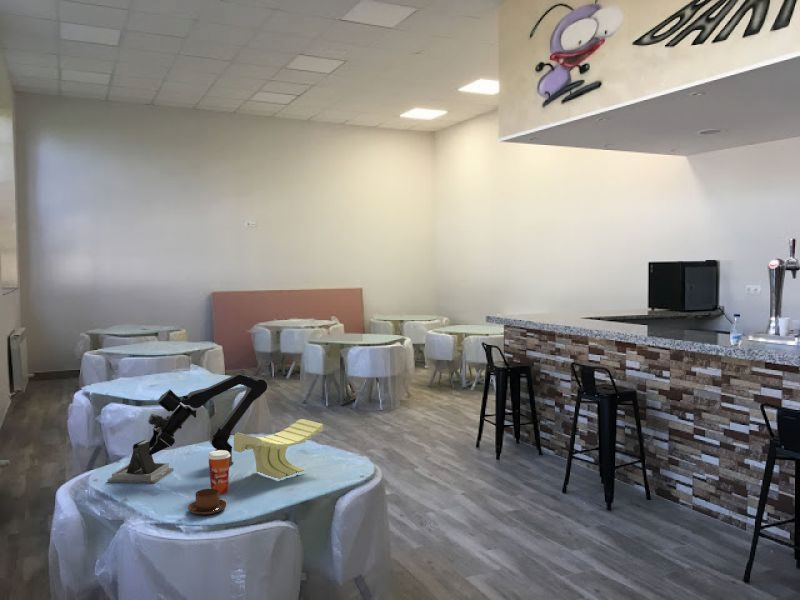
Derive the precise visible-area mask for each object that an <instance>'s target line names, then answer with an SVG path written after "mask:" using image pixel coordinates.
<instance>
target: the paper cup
mask: <svg viewBox="0 0 800 600" xmlns="http://www.w3.org/2000/svg"><path fill="white" fill-rule="evenodd" d="M230 456H231V455H230V453H229V452H228V451H225V450H217V451H215V450H212V451H210V452H209V453H208V455H207V459H208V467H209V468H208V469H209V480H210V489H217V490H218V491H219V495H224V493H225V494H226V493H228V491H229V478H230V477H229V472H230V467H229V457H230Z"/></svg>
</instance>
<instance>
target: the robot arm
mask: <svg viewBox="0 0 800 600" xmlns="http://www.w3.org/2000/svg"><path fill="white" fill-rule="evenodd" d="M239 385H240V386H244V387H246V390H245V392H244V395H243V396H242V398H241V399H240V400H239V402H238V403H237V404H236V406H235V407H234V408H233V409H232V411H231V412H230V414H229V415H228V417H227V418H226V419H225V420H224V422H223V423H222V424H221V425H219V426H218V425H217V424H215V426H214V427H213V429H212V430H211V431H210V432H209V436H208V442H209V443H210V445H211V446H212V447H213V448H214V449H215V450H214V451H217V450H225V451H228V452H229V453H230V455H231V456H230V457H229V468H230V467H231V466H232V465H233V464H234V462H235V461H233V451H232V450H233V446H232V445H231V444H230V443H229V442H228V441H229V439H230V438H231V437H230V436H231V433H232V431H233V429H234V428H235V427H236V425H237V424H238V423H239V421H240V420H241V419H242V418H243V416H244V414H245V413H246V412H247V411H248V410H249V408H250V406H251V405H252V404H253V402H254V401H256V400H257V399H258V398H260V397H261V396H262V395H263V394H264V393H265V392H266V391H267V389H268V384H267V381H265V379H263V378H261V377H258V376H256V377H251V376H247V375H244V374H242V373H240V372H238V373H234V374H233V375H231V376H229V377H227V378H225V379H223V380H221V381H219V382H216V383H215V384H213V385H210V386H208V387H206V388H200V389H197V390H193V391H190V392H189V393H188V394H186V395H182V396H178V395H177V394H175V392H173V390H172V389H168V390H167V391H166V392H164V394H161V395H160V397H159V398H158V399H157V401H156V403H157V405H159V406H161V408H163V409H164V410H165V411H166V412H167V413H169V412H172V413H171V414H170V415H167V416H166V417H164V416H162V415H158V414H154V413H151V414H150V416H149V419H148V420H147V422H148V424H150V425H152V427H153V428H152V436H151V437H150V439H149V440H148V441H149V448H150V452H149V455H152V456H153V455H154V454H156V453H159V452H160V451H162V450H165V449H168V448H170V447H173V445H174V444H175V443H176V442H175V441H176V440H175V438H174V437H175V434H176V432H177V431H179V429H180V430H181V429H182V428H183V427H182V426H183V425H184V423H186V421H187V420H188V419H189V418H190V417H191V416H192V417H194V418H197V410H196V409H199V408H201V407H203V406H204V405H205V404H207V403H208V402H209V401H210V400H212V398H214V397H216V396H218V395H220V394H222V393H224V392H228V391H229V390H230V389H232V388H235V387H236V386H239Z"/></svg>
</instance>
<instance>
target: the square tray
mask: <svg viewBox="0 0 800 600" xmlns="http://www.w3.org/2000/svg"><path fill="white" fill-rule="evenodd" d="M154 463H155V466H156V469H157V470H155V471H154V472H152V473H151V474H126V473H127V470H128V467H129V464H130V463H128V464H126V465H124V466H123V467H121V468H119V469H118V470H116V471H115V472H113V473H111V477H109V478H107V480H106V481H109V482H108V483H113V482H120V483H119V484H122V483H124V484H142V485H143V484H144V485H146V484H147V485H148V484H149V485H155V484H156V483H158V482H159V481H160V480H162V479H164V477H166V476H168V475H169V474H171V473H172V472H174V467H170V463H169V462H168V463H167V462H154ZM141 469H142V468H141Z"/></svg>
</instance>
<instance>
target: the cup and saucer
mask: <svg viewBox="0 0 800 600" xmlns="http://www.w3.org/2000/svg"><path fill="white" fill-rule="evenodd" d="M194 494H195V501H193V502H191V503H190V504H189V505H188V507H187V508H188V510H189V512H191V513H192V514H195V515H201V516H204V515H206V516H207V515H211V514H216V513H219V512H221V511H223V510H224V509H225V508H226V507H227V502H226V500H223V499H221V498H220V494H219V491H218V490H217V489H211V488H203V489H200V490H197V491H196V492H195V493H194ZM216 508H219V509H218V510H215V509H216ZM213 510H214V511H213Z"/></svg>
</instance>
